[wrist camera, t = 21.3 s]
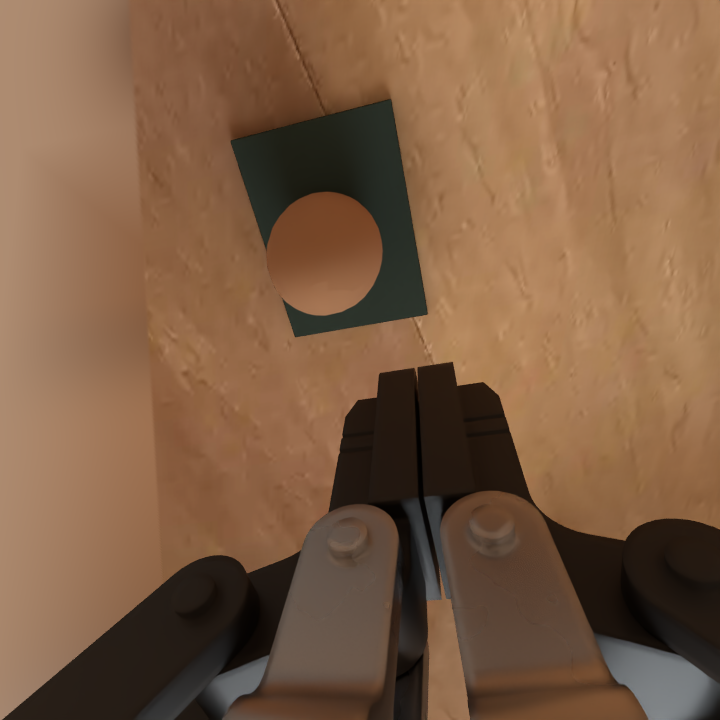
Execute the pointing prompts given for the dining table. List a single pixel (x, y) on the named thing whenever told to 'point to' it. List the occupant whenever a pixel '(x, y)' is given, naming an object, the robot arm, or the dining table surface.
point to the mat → (348, 177)
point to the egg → (324, 253)
